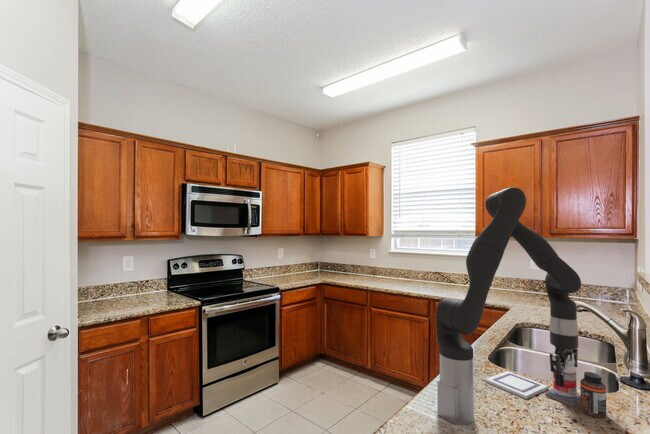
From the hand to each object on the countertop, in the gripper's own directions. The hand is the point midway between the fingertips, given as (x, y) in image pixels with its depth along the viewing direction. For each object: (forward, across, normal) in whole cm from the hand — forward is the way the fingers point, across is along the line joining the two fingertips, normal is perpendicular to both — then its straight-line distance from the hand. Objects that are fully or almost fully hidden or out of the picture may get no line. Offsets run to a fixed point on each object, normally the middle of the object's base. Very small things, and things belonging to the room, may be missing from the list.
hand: (564, 383), depth 106 cm
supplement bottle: (+5, -3, -9) cm, 10 cm away
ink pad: (+5, 0, 0) cm, 5 cm away
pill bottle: (+3, 0, 0) cm, 3 cm away
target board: (+5, -5, +13) cm, 15 cm away
